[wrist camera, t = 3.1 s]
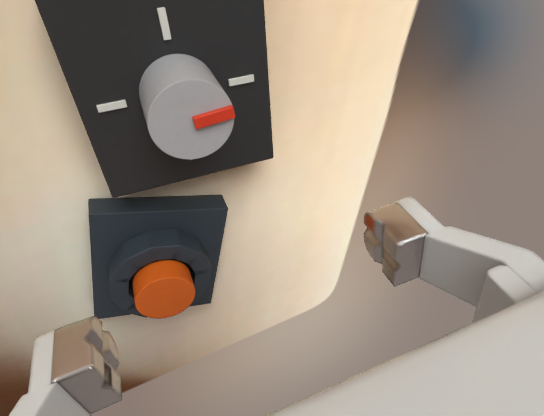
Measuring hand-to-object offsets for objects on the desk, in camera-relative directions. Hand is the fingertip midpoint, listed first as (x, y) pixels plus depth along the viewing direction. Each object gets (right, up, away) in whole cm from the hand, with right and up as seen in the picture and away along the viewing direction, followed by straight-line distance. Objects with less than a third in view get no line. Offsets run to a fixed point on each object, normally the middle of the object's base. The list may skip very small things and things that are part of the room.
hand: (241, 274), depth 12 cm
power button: (-7, -3, +17) cm, 19 cm away
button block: (-8, -1, +19) cm, 21 cm away
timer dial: (-4, +8, +9) cm, 13 cm away
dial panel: (-5, +10, +12) cm, 16 cm away
